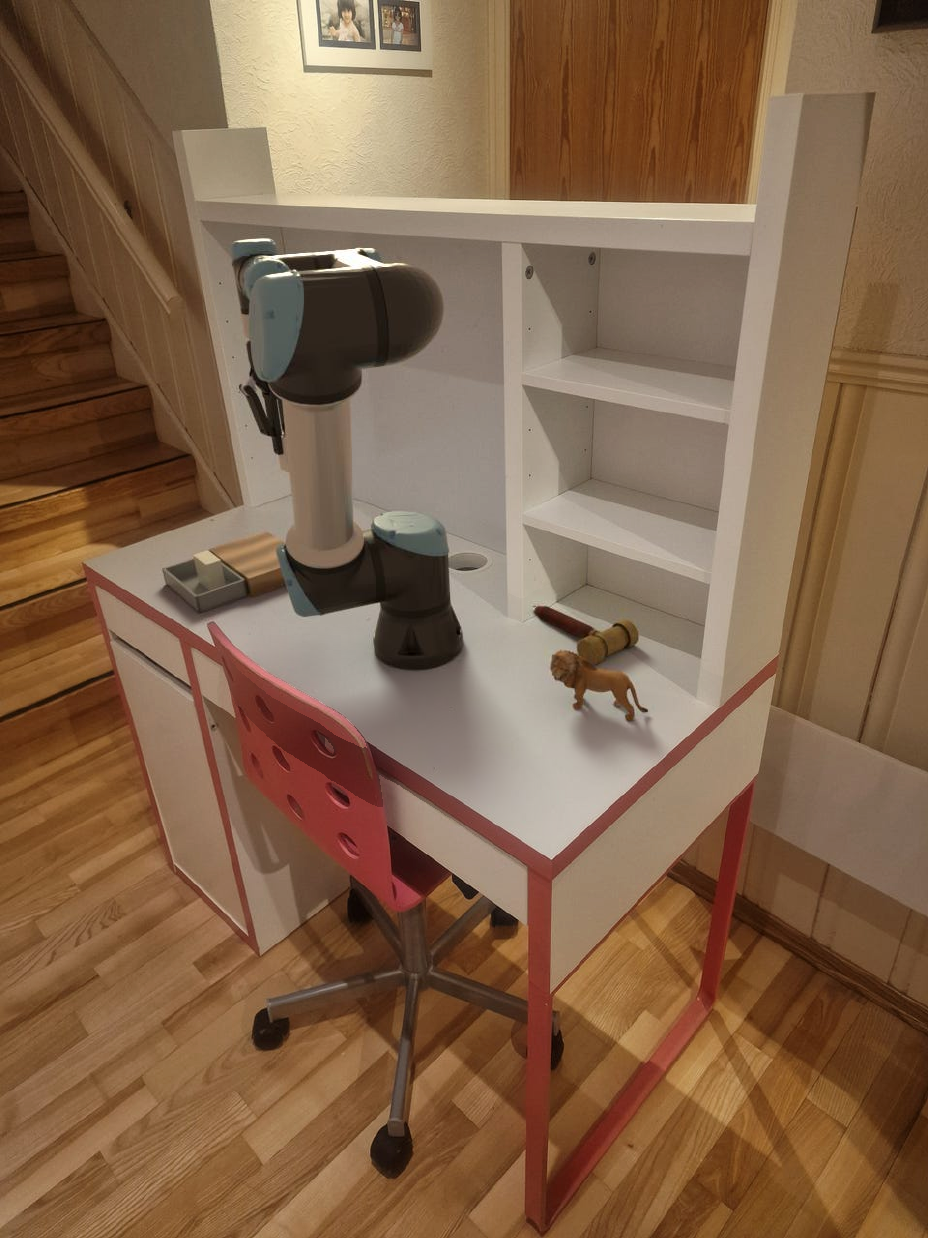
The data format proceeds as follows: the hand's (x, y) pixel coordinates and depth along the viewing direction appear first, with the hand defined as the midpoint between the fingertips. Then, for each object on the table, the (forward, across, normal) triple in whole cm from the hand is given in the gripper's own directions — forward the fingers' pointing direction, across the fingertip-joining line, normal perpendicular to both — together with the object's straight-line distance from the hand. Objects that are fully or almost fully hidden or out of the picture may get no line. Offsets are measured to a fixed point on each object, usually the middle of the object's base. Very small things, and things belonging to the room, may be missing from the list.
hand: (287, 469), depth 156 cm
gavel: (+25, -22, +51) cm, 61 cm away
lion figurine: (+25, -9, +68) cm, 73 cm away
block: (+19, +13, -10) cm, 25 cm away
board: (+22, +4, -10) cm, 25 cm away
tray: (+22, +16, -10) cm, 29 cm away
